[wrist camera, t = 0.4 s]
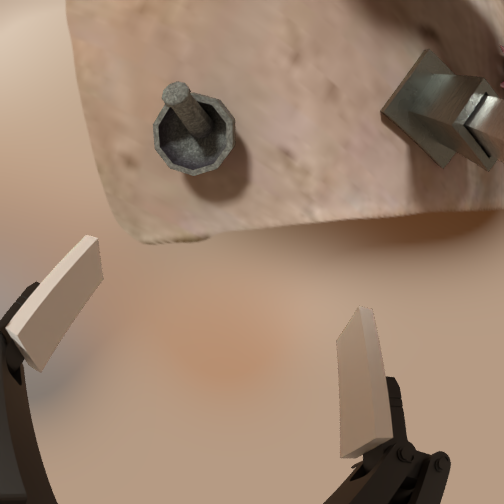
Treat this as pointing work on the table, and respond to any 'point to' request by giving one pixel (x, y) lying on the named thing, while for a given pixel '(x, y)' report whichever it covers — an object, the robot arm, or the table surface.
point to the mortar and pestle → (193, 130)
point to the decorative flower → (503, 81)
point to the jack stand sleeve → (439, 110)
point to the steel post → (488, 126)
